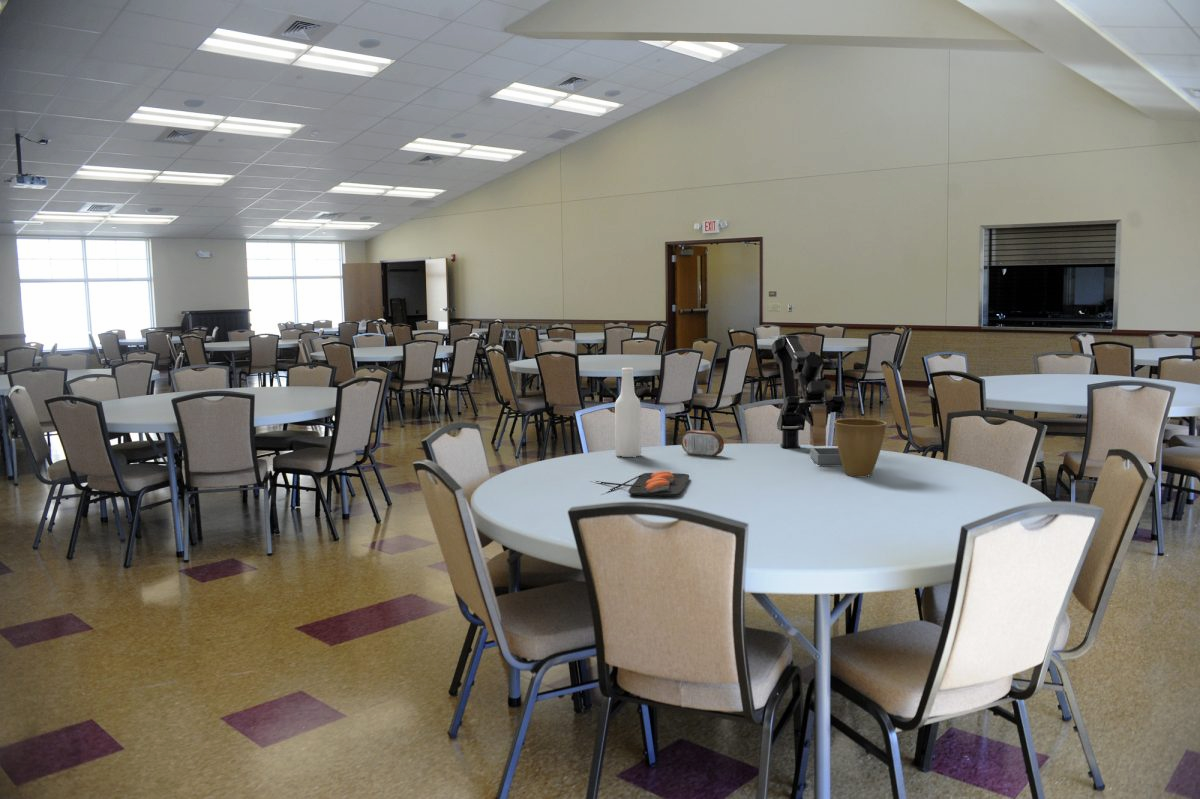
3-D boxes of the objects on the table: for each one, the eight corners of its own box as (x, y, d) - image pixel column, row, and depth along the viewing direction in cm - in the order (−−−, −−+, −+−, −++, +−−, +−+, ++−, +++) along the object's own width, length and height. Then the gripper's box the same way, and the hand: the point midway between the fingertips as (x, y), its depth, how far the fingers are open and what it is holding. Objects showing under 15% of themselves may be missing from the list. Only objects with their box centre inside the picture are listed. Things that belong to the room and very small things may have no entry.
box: (810, 458, 302) (810, 447, 301) (852, 458, 301) (852, 447, 300) (817, 465, 288) (817, 455, 288) (861, 465, 287) (861, 454, 287)
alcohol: (629, 452, 318) (628, 366, 314) (646, 455, 311) (645, 367, 308) (610, 455, 312) (609, 368, 309) (627, 458, 305) (626, 369, 302)
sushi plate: (679, 501, 244) (679, 487, 243) (570, 497, 250) (570, 484, 249) (690, 479, 272) (690, 467, 272) (592, 477, 278) (592, 464, 277)
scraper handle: (809, 444, 294) (810, 404, 293) (821, 443, 294) (822, 403, 293) (813, 446, 290) (814, 405, 289) (825, 445, 290) (826, 405, 289)
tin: (724, 456, 308) (724, 431, 307) (720, 457, 306) (720, 432, 305) (684, 452, 316) (684, 428, 315) (680, 454, 314) (680, 429, 313)
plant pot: (833, 478, 268) (834, 424, 266) (833, 469, 282) (833, 417, 281) (886, 480, 264) (887, 425, 263) (883, 470, 279) (884, 418, 277)
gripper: (786, 371, 293) (795, 410, 283) (843, 370, 294) (854, 409, 284) (779, 393, 302) (788, 431, 292) (835, 392, 303) (845, 430, 293)
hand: (819, 425), depth 290 cm, fingers closed on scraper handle, 4 cm apart
